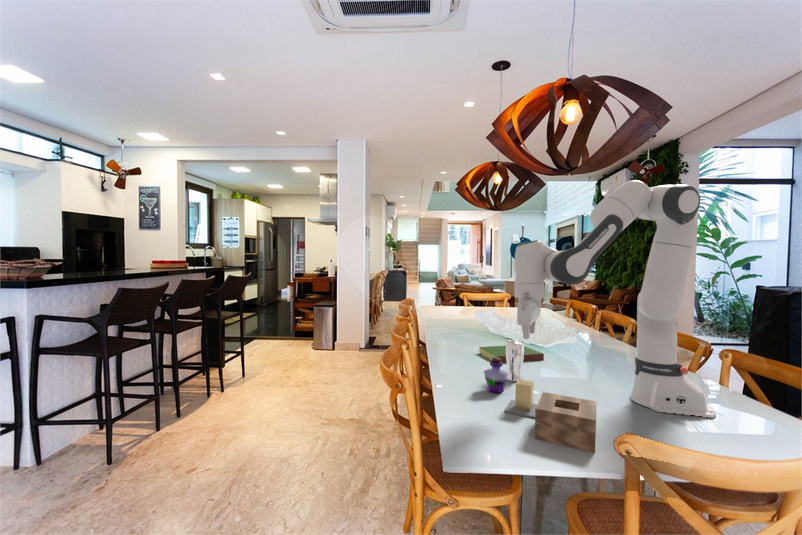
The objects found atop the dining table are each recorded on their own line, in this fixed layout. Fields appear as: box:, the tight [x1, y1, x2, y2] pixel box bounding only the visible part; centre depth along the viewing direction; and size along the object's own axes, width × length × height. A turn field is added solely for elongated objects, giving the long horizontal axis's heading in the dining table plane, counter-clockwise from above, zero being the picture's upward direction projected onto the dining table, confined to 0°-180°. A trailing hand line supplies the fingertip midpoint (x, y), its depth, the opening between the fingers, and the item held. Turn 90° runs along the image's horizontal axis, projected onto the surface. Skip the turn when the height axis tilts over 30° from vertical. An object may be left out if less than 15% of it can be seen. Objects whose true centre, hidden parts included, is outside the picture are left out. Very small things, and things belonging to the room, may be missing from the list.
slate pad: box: [503, 399, 538, 420], centre depth 115 cm, size 10×10×1 cm
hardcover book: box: [478, 345, 545, 364], centre depth 179 cm, size 25×19×4 cm
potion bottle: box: [483, 358, 508, 394], centre depth 131 cm, size 9×9×12 cm
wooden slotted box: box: [534, 391, 598, 453], centre depth 99 cm, size 14×14×8 cm
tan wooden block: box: [514, 379, 534, 412], centre depth 115 cm, size 4×4×8 cm
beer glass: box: [505, 339, 525, 382], centre depth 144 cm, size 7×7×15 cm
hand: (529, 335), depth 115 cm, fingers open, 8 cm apart
